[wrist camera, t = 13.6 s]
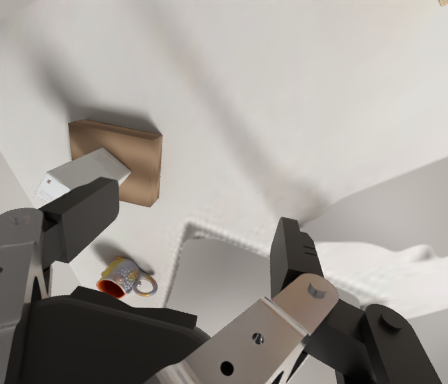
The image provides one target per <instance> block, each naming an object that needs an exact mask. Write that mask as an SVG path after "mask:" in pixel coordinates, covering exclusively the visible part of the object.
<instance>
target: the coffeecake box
mask: <svg viewBox="0 0 448 384" xmlns="http://www.w3.org/2000/svg"><path fill="white" fill-rule="evenodd" d="M439 1H440V4H441V6H444V5H447V4H448V0H439Z"/></svg>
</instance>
